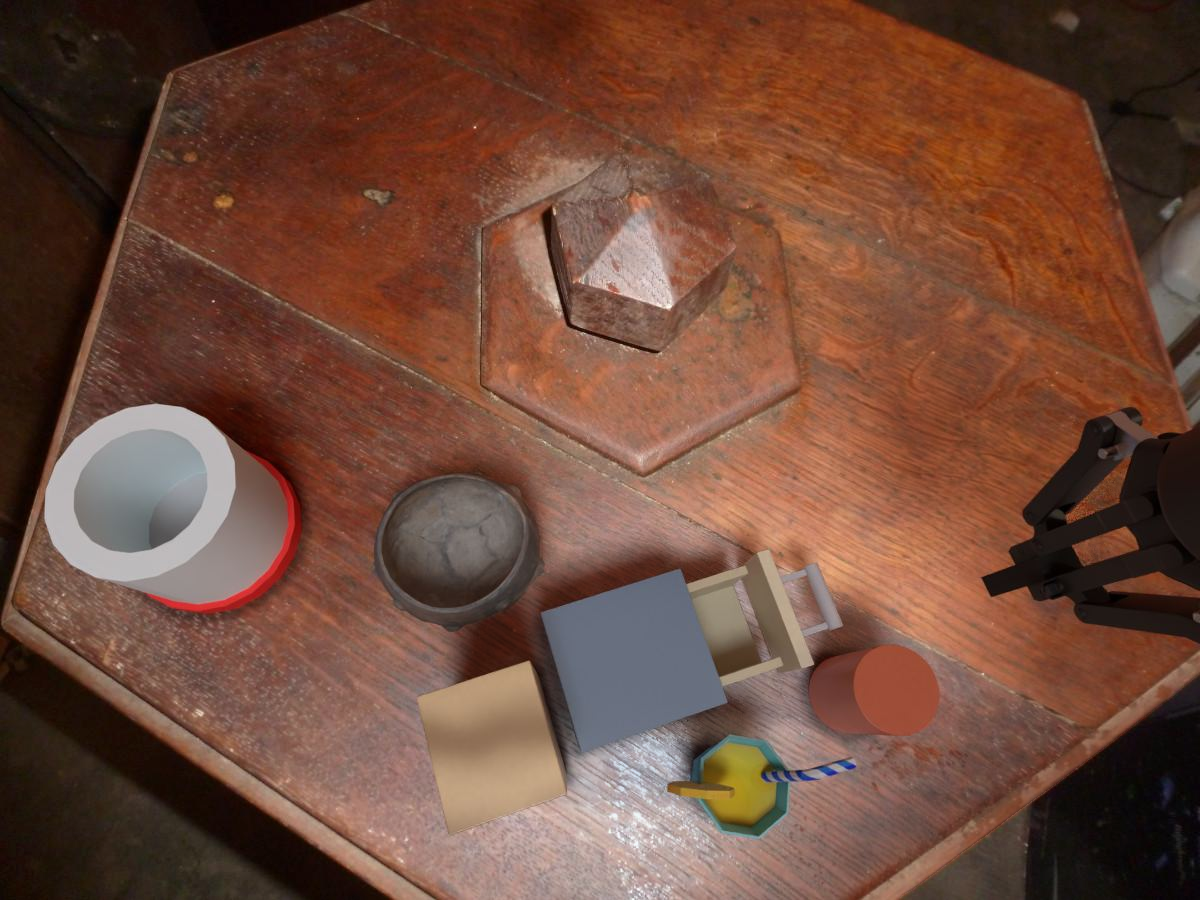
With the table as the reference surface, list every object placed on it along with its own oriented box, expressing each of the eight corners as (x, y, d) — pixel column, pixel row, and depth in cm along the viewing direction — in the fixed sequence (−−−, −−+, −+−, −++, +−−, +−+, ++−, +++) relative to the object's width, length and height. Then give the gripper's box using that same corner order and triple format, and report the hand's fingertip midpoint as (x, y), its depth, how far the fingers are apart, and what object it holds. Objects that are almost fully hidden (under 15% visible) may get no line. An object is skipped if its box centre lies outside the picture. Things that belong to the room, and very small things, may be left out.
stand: (566, 774, 70) (567, 794, 51) (480, 804, 69) (448, 836, 50) (538, 675, 72) (529, 659, 54) (455, 702, 71) (416, 696, 52)
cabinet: (666, 586, 76) (680, 567, 67) (707, 704, 72) (728, 702, 63) (543, 625, 74) (540, 612, 65) (579, 748, 71) (581, 753, 61)
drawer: (793, 551, 77) (817, 533, 69) (834, 654, 73) (864, 647, 66) (638, 600, 74) (646, 587, 67) (674, 709, 71) (687, 707, 64)
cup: (787, 711, 72) (841, 709, 58) (813, 799, 70) (877, 819, 56) (643, 749, 71) (663, 756, 57) (665, 840, 68) (692, 871, 54)
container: (147, 455, 78) (57, 398, 64) (309, 452, 79) (254, 395, 65) (120, 616, 73) (15, 592, 59) (293, 611, 73) (230, 587, 60)
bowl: (565, 592, 75) (565, 573, 66) (416, 663, 72) (393, 655, 63) (507, 468, 79) (499, 434, 70) (363, 531, 76) (335, 505, 67)
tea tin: (894, 718, 73) (955, 718, 61) (826, 744, 72) (875, 748, 60) (863, 646, 75) (916, 632, 63) (797, 669, 74) (839, 660, 62)
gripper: (1486, 601, 30) (1096, 654, 53) (1288, 321, 34) (1004, 480, 57) (1332, 664, 29) (1000, 691, 51) (1147, 367, 33) (913, 511, 55)
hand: (1002, 581), depth 54 cm, fingers closed
